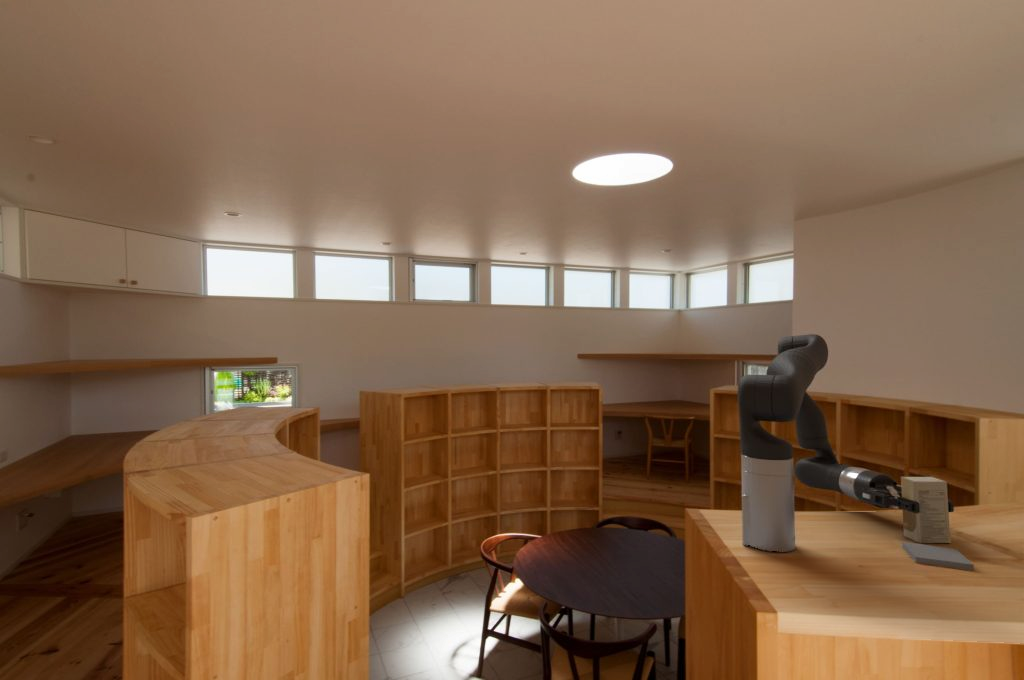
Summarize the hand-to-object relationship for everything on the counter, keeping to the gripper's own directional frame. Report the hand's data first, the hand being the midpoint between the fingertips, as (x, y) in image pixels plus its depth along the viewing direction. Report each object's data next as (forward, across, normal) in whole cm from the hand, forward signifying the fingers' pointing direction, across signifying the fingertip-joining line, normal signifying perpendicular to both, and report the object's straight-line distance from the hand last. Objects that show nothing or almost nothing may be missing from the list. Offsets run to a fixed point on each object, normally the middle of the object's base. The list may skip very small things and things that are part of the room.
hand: (935, 507), depth 98 cm
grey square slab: (+7, -7, +7) cm, 12 cm away
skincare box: (-2, 0, +7) cm, 8 cm away
